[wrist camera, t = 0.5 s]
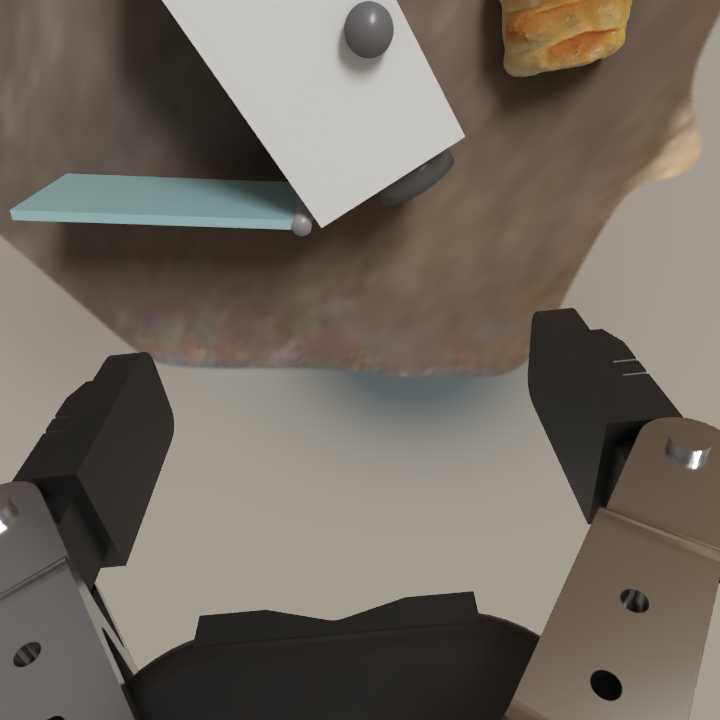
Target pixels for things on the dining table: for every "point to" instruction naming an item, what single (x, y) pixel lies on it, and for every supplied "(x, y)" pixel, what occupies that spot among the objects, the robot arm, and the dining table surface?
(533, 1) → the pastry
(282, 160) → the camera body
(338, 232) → the dining table surface
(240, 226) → the door
